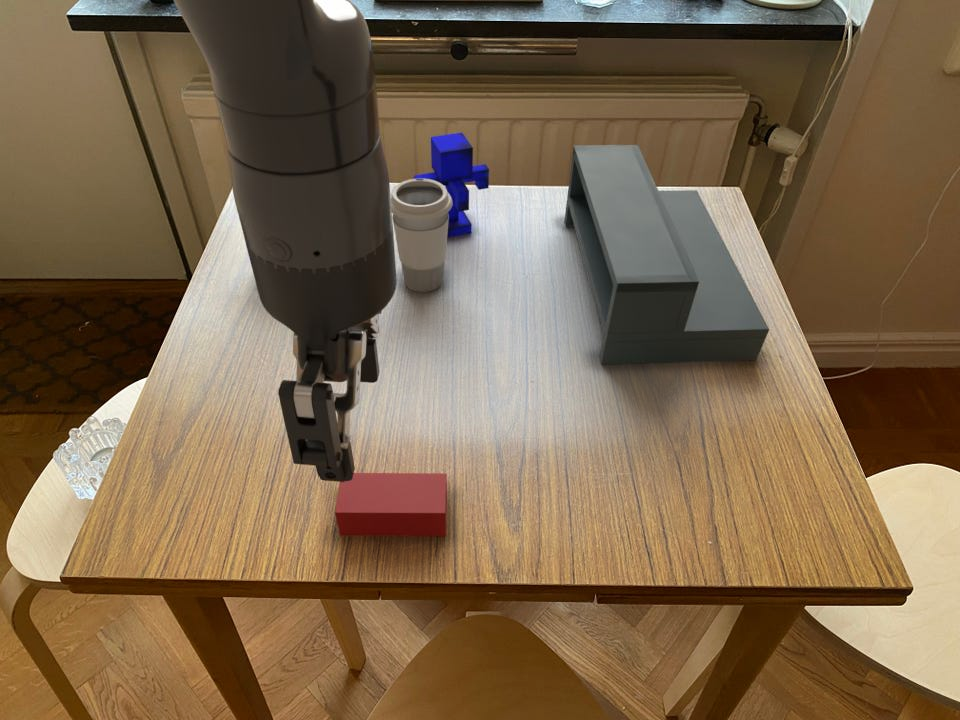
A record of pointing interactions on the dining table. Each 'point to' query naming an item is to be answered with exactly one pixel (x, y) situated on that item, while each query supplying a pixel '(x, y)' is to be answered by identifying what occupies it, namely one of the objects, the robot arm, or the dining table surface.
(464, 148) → the figurine
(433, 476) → the red rectangular block
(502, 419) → the dining table surface
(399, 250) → the cup
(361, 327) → the robot arm
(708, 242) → the shelf
